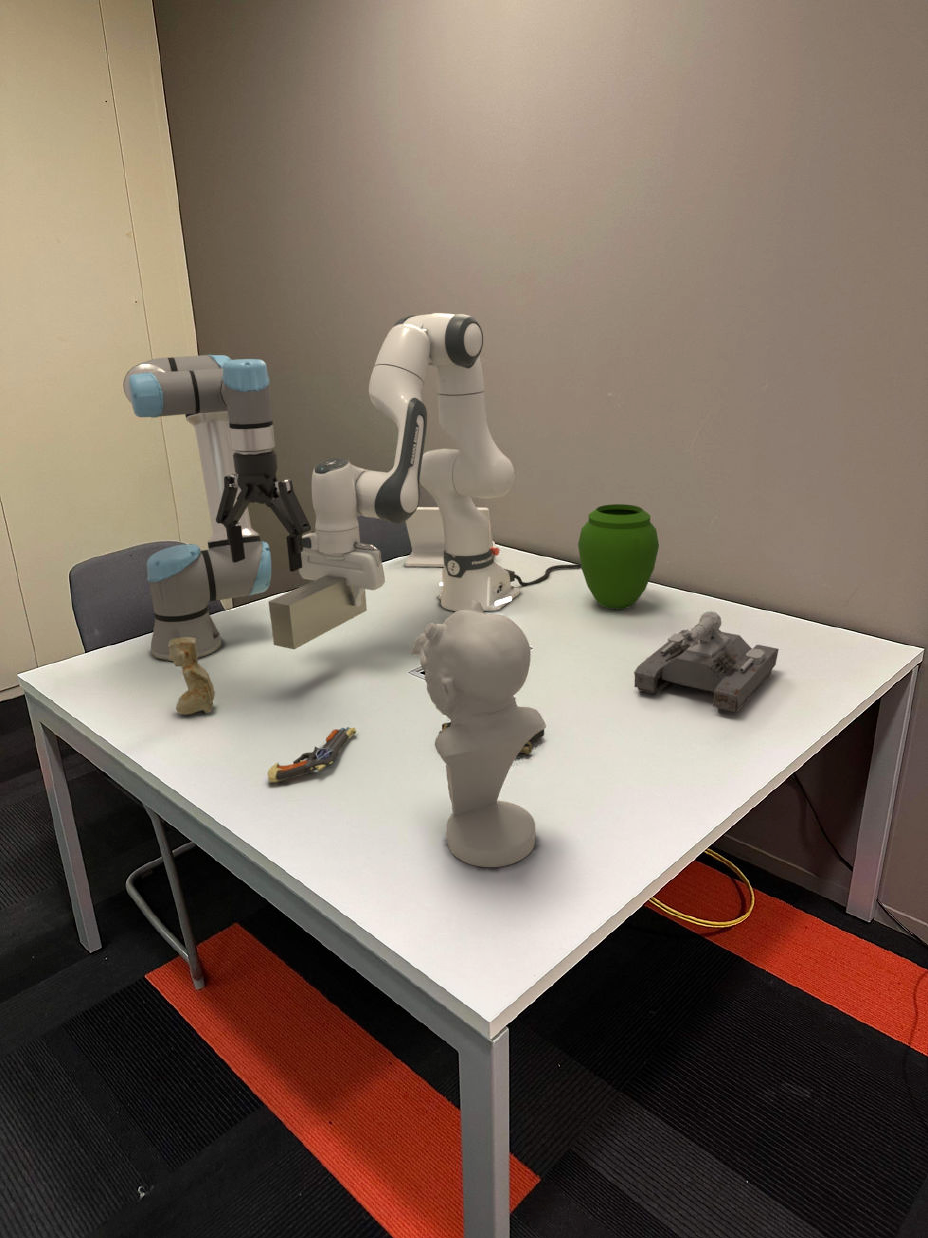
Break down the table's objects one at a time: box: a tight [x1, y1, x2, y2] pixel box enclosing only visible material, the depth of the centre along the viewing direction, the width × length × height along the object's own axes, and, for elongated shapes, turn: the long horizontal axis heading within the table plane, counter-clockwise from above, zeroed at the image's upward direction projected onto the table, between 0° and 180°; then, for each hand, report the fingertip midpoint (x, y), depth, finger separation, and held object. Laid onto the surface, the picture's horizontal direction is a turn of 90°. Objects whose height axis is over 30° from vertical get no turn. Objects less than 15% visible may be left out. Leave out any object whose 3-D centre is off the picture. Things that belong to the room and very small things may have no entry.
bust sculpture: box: [410, 600, 547, 868], centre depth 121 cm, size 16×24×35 cm
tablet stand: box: [404, 506, 496, 568], centre depth 254 cm, size 18×25×17 cm
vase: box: [577, 503, 660, 610], centre depth 210 cm, size 20×20×24 cm
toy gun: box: [267, 726, 357, 783], centre depth 146 cm, size 3×19×10 cm
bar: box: [268, 575, 367, 650], centre depth 173 cm, size 24×5×9 cm, turn 150°
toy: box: [633, 611, 780, 713], centre depth 168 cm, size 25×20×15 cm
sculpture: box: [168, 637, 216, 716], centre depth 162 cm, size 6×7×15 cm
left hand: (267, 565), depth 159 cm, fingers open, 13 cm apart
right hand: (343, 603), depth 180 cm, fingers closed on bar, 5 cm apart
